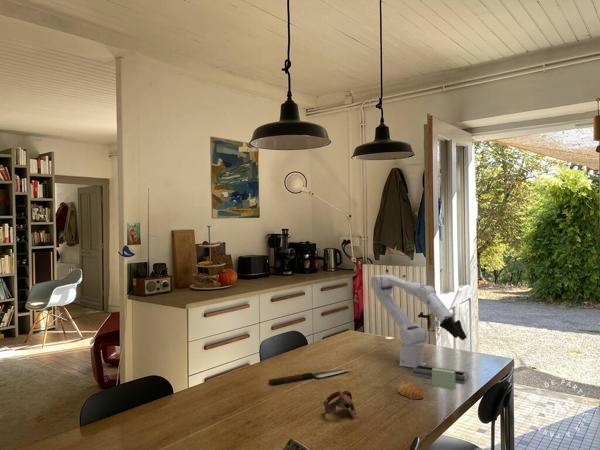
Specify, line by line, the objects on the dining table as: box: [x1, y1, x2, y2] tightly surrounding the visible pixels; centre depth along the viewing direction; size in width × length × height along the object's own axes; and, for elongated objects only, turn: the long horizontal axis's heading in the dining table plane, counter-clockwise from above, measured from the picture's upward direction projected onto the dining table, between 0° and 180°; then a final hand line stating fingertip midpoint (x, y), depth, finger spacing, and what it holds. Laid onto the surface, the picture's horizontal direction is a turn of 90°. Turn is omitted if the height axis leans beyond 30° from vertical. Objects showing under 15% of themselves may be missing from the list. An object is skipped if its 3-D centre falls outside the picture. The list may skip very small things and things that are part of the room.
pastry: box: [397, 381, 424, 400], centre depth 161 cm, size 9×7×4 cm
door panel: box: [431, 367, 456, 390], centre depth 170 cm, size 8×2×6 cm, turn 58°
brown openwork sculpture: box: [323, 390, 357, 420], centre depth 146 cm, size 12×10×8 cm
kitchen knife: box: [268, 368, 351, 387], centre depth 180 cm, size 36×2×5 cm
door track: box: [411, 365, 469, 385], centre depth 180 cm, size 20×8×2 cm, turn 58°
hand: (461, 337), depth 176 cm, fingers open, 7 cm apart
